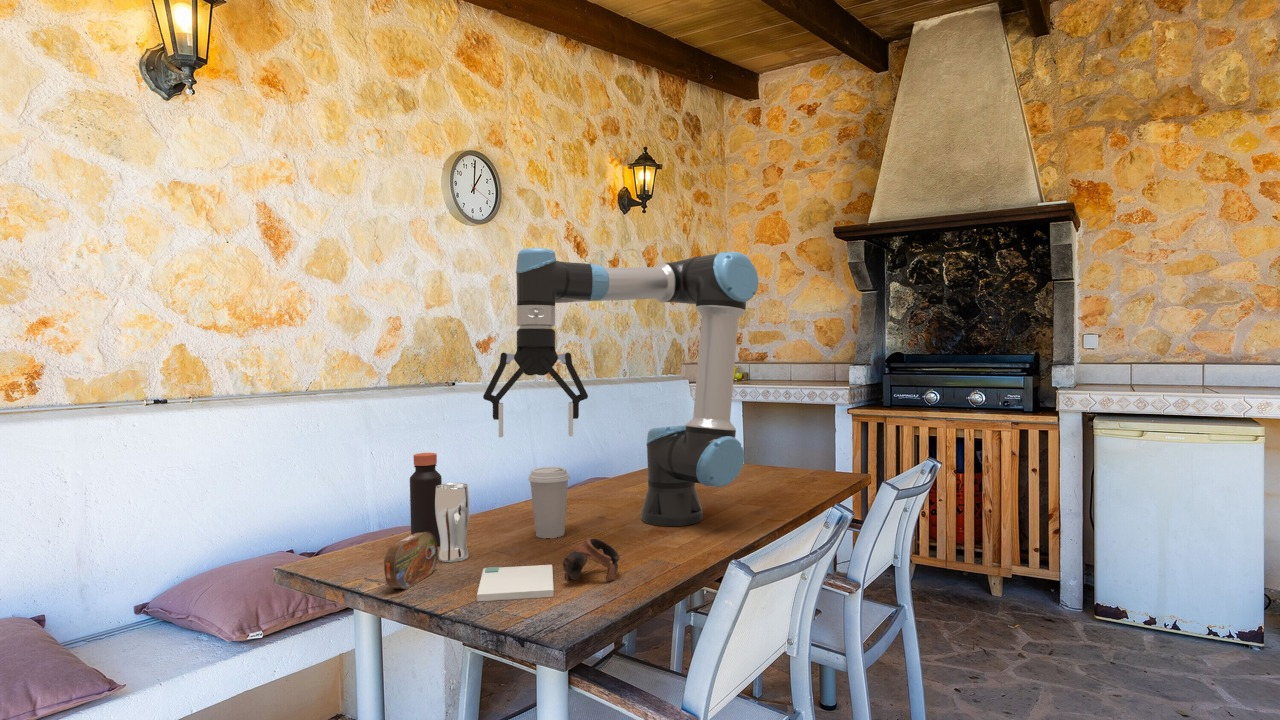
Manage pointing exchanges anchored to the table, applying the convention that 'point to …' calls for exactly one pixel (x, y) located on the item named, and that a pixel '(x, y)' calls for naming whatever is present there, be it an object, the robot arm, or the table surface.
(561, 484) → the coffee cup
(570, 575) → the broken pottery vessel
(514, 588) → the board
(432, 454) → the bottle
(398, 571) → the tin
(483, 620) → the table surface
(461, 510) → the beer glass
